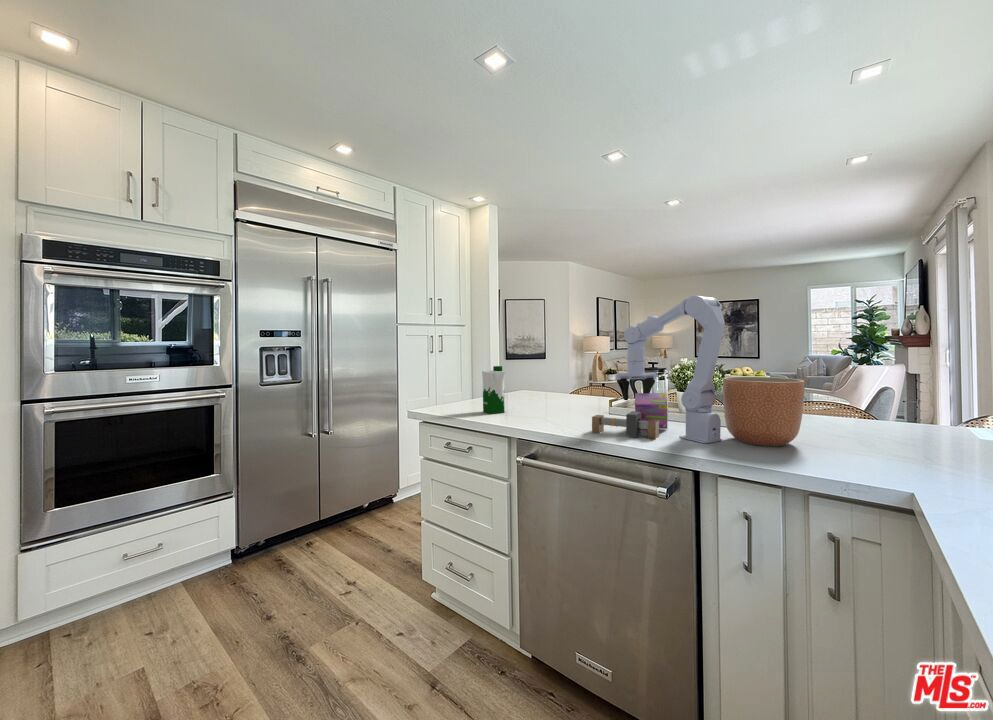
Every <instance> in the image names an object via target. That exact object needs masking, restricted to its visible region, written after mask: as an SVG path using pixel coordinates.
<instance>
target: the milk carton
mask: <svg viewBox="0 0 993 720" xmlns="http://www.w3.org/2000/svg"><path fill="white" fill-rule="evenodd" d="M481 375H482V410H483V411H482V412H483V413H486V414H490V415H493V414H494V415H495V414H504V413H505V377H506V370H503V366H502V365H493V368H492V370H482V372H481Z"/></svg>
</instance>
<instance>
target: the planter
mask: <svg viewBox="0 0 993 720" xmlns="http://www.w3.org/2000/svg"><path fill="white" fill-rule="evenodd" d="M805 384H806V383H805V380H804V379H798V378H791V377H775V376H774V377H773V376H726V377H723V378H722V401H723V413H724V416H723V417H724V421H725V426H726V429H727V432H728V433H730V435H731V436H732V437H733V438H735V439H736V440H737V441H739V442H741V443H745V444H749V445H755V446H762V447H763V446H764V447H779V446H780V447H781V446H785V445H788V444H789V443H791V442H792V441H794V439H795V438H797V437H798V434H799V432H800V429H801V425H802V419H803V414H804V413H803V410H804V402H805V401H804V399H805V386H806V385H805Z"/></svg>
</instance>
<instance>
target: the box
mask: <svg viewBox="0 0 993 720" xmlns="http://www.w3.org/2000/svg"><path fill="white" fill-rule="evenodd" d="M634 411H635V412H642V416H641V421H650V420H651V419H652V420H659V430H660V429H662V430H663V429H664V430H668V422H669V421H668V413H669V411H668V394H667V392H666V393H663V392H662V393H658V392H657V393H656V392H655V393H654V392H653V393H651V392H650V393H643V392H642V393H641V392H640V393H638V392H636V393H634Z"/></svg>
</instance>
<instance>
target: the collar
mask: <svg viewBox="0 0 993 720" xmlns="http://www.w3.org/2000/svg"><path fill="white" fill-rule="evenodd" d="M641 416H642V412H635V410H634V411H630V412H628V413H626V416H625V417H626V418H625V419H626V427H625V429H626V430H625V431H626V432H625V433H626V435H625V437H632V438H637V437H638V436H640V435H641V434H642V429H640V428H637V420H641Z"/></svg>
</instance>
